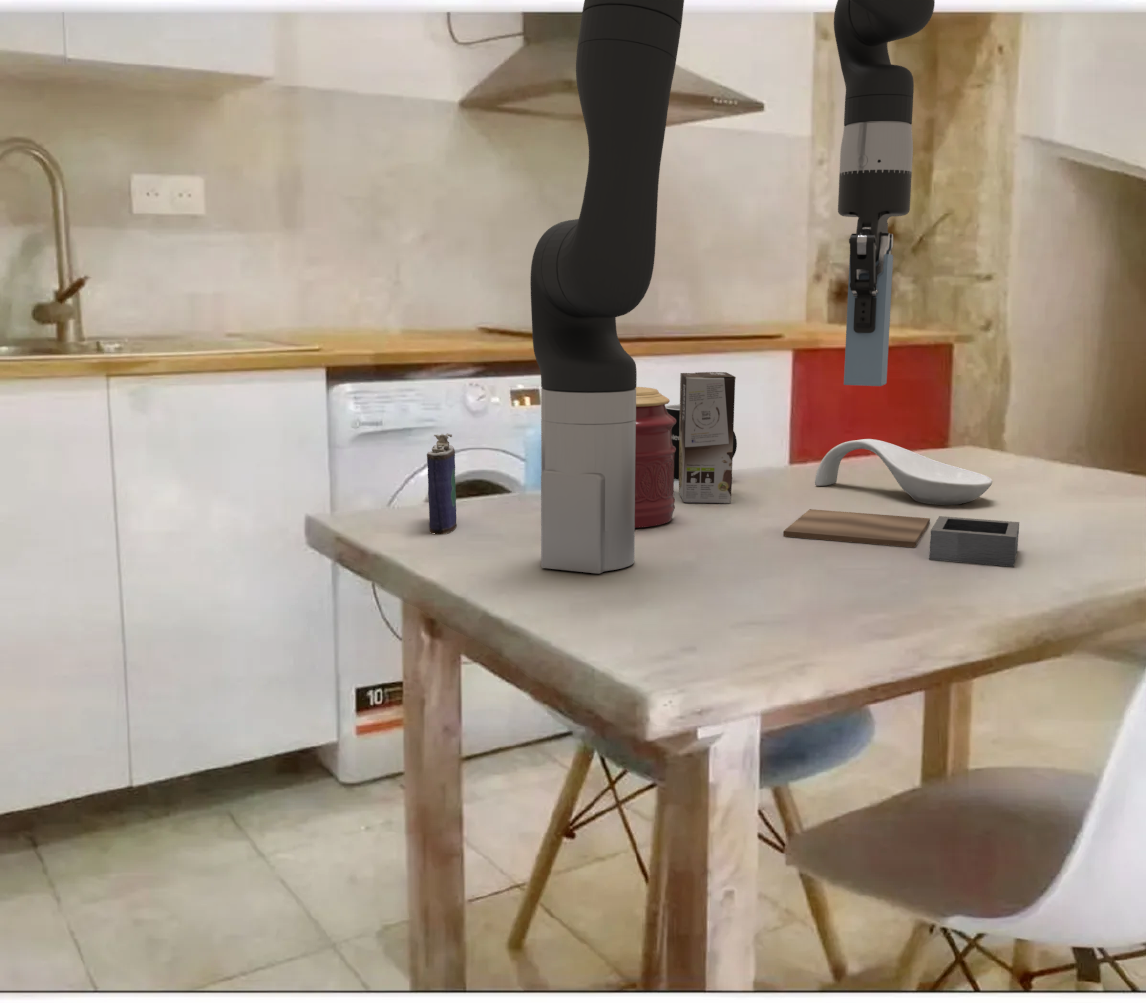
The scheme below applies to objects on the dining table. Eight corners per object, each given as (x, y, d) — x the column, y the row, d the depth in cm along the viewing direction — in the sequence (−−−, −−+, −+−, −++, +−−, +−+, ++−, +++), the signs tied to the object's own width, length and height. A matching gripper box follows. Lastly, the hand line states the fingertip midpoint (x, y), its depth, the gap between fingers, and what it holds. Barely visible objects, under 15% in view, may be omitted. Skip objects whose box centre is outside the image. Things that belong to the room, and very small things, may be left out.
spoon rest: (1005, 502, 150) (1009, 447, 148) (965, 515, 141) (969, 456, 140) (842, 481, 166) (845, 431, 164) (798, 491, 157) (800, 439, 156)
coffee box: (733, 503, 147) (736, 376, 144) (682, 503, 147) (684, 375, 144) (725, 491, 156) (728, 370, 153) (677, 491, 156) (679, 370, 153)
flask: (434, 518, 137) (433, 428, 135) (459, 518, 137) (458, 428, 135) (427, 535, 128) (425, 438, 126) (453, 535, 128) (452, 438, 126)
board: (914, 547, 122) (915, 542, 122) (783, 536, 127) (783, 531, 127) (929, 523, 135) (930, 518, 135) (809, 514, 140) (809, 509, 140)
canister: (544, 523, 134) (544, 370, 131) (595, 505, 146) (596, 364, 142) (647, 534, 128) (649, 374, 125) (691, 514, 140) (694, 367, 136)
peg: (881, 386, 125) (887, 253, 123) (843, 384, 127) (849, 254, 124) (886, 383, 129) (893, 255, 127) (850, 382, 131) (856, 255, 128)
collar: (1013, 566, 114) (1015, 537, 113) (928, 559, 117) (930, 530, 116) (1017, 550, 121) (1019, 522, 120) (937, 543, 124) (939, 516, 123)
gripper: (902, 162, 116) (893, 335, 119) (919, 174, 129) (911, 330, 132) (827, 164, 119) (820, 333, 122) (851, 177, 132) (844, 329, 135)
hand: (867, 331), depth 127 cm, fingers closed on peg, 4 cm apart
